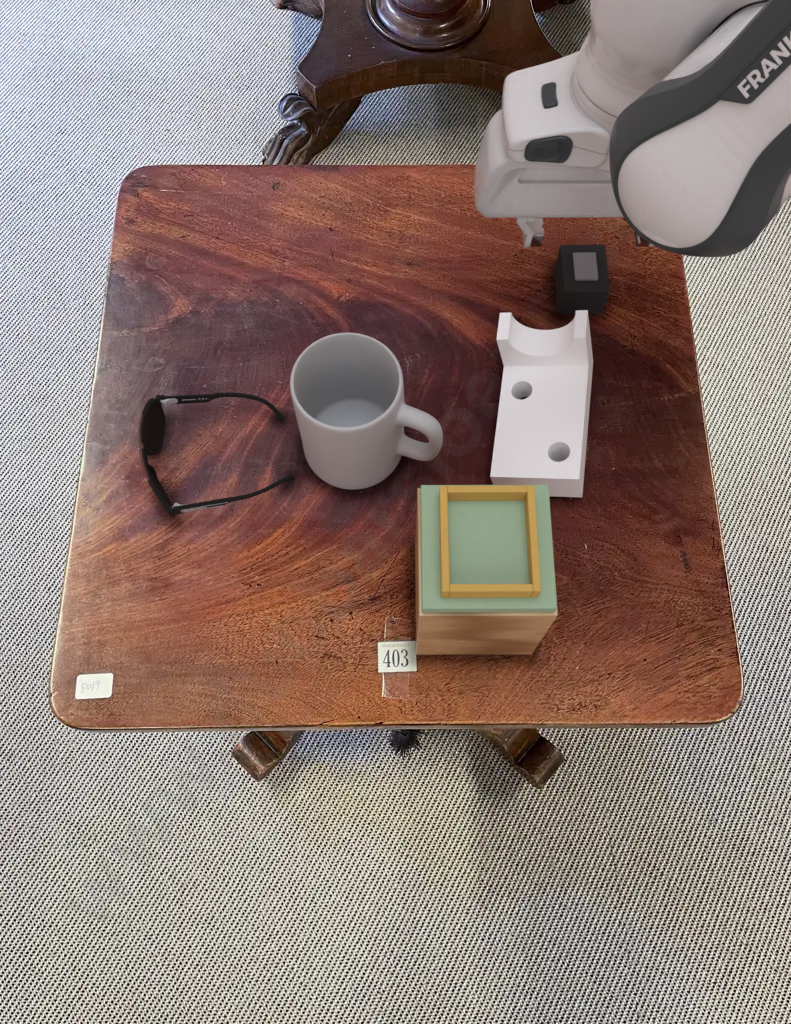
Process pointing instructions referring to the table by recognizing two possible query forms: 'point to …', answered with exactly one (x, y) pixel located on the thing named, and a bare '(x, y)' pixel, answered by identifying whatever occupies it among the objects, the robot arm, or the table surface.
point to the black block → (581, 279)
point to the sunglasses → (153, 439)
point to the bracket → (543, 405)
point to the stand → (474, 623)
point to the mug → (356, 411)
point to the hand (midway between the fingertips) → (587, 240)
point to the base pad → (487, 549)
